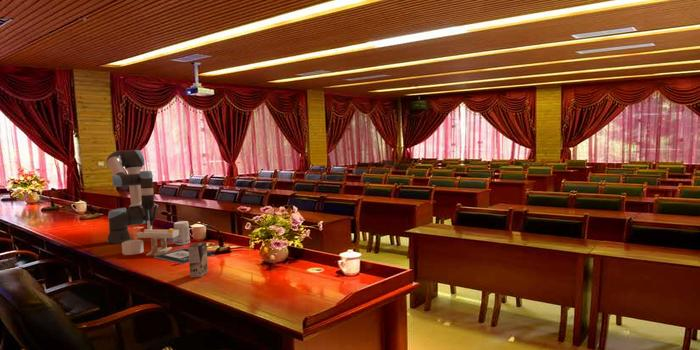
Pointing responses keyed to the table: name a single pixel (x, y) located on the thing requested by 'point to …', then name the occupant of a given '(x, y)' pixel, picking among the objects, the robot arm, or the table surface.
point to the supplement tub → (182, 232)
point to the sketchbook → (177, 256)
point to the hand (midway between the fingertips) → (149, 230)
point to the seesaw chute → (159, 234)
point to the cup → (132, 247)
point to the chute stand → (160, 249)
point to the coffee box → (198, 259)
